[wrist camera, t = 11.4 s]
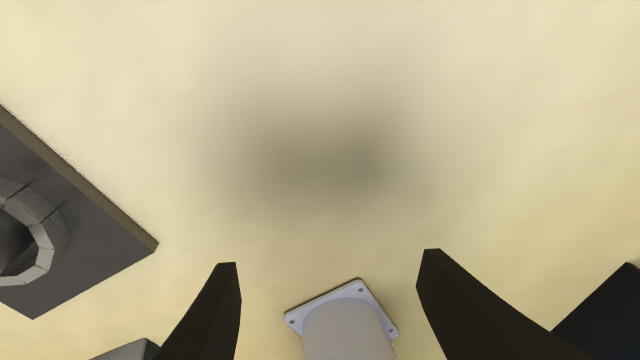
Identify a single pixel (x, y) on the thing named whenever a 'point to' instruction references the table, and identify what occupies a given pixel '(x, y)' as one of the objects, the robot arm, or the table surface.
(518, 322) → the robot arm
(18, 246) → the blue-grey cylinder
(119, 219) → the metal base plate
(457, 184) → the table surface
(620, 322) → the book
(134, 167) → the table surface
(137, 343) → the external hard drive
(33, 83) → the table surface
